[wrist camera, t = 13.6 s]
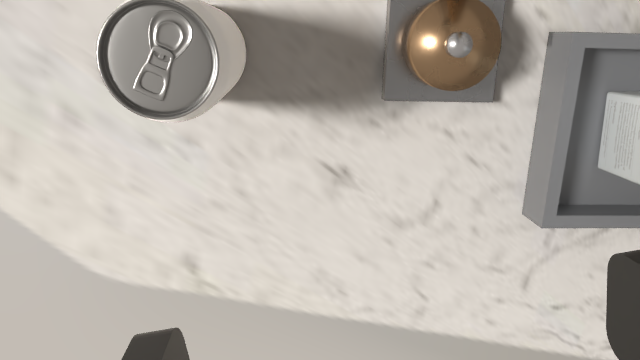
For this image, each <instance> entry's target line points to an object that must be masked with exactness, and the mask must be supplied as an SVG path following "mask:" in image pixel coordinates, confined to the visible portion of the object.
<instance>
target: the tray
mask: <svg viewBox="0 0 640 360" xmlns="http://www.w3.org/2000/svg"><path fill="white" fill-rule="evenodd" d="M625 91H640V34H627V33H592V32H549V37H548V44H547V50H546V57H545V64H544V70H543V77H542V84H541V91H540V97H539V104H538V111H537V117H536V124H535V131H534V137H533V144H532V151H531V157H530V164H529V171H528V178H527V184H526V191H525V198H524V204H523V211H522V214H523V215H524V216H526V217H527V218H528V219H530V220H531V221H532V222H534V223H535V224H536V225H538V226H539V227H540V228H640V185H639V184H637V183H634V182H632V181H629V180H627V179H624V178H622V177H620V176H617V175H615V174H612V173H610V172H607V171H605V170H602V169H599V168H598V160H599V152H600V145H601V137H602V130H603V122H604V115H605V107H606V99H607V93H608V92H625Z"/></svg>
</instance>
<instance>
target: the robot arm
mask: <svg viewBox="0 0 640 360" xmlns="http://www.w3.org/2000/svg"><path fill="white" fill-rule="evenodd" d="M606 330H607V336H608V339H609V342H610V345H611V347H612V349H613V351H614V353H615V355H616V356H617V358H618V359H619V360H640V250H636V251H630V252H624V253H618V254H614V255H613V256H612V257H611V258H610V260H609V263H608V272H607V315H606ZM122 360H190V359H189V355H188V352H187V348H186V344H185V340H184V337H183V335H182V332H181V331H180V329H179V328H171V329H165V330H159V331H154V332H148V333H142V334H137V335H135V336H134V337H133V338H132V340H131V342H130V344H129V346H128V348H127V350H126V352H125V354H124V356H123V358H122Z"/></svg>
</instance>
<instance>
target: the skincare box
mask: <svg viewBox="0 0 640 360" xmlns="http://www.w3.org/2000/svg"><path fill="white" fill-rule="evenodd" d="M598 168H599V169H602V170H605V171H607V172H610V173H612V174H615V175H617V176H620V177H622V178H624V179H627V180H629V181H632V182H634V183H637V184H639V185H640V91H625V92H608V93H607V99H606V107H605V115H604V122H603V130H602V137H601V145H600V152H599V160H598Z"/></svg>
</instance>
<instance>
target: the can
mask: <svg viewBox="0 0 640 360" xmlns="http://www.w3.org/2000/svg"><path fill="white" fill-rule="evenodd" d="M96 54H97V64H98V69H99V72H100V75H101V78H102V80H103V82H104V84H105V86H106V87H107V89H108V90H109V92H110V93H111V94H112V96H113V97H114V98H115V99H116V100H117V101H118V102H119V103H120V104H121V105H123V106H124V107H125V108H127V109H128V110H130V111H132V112H134V113H136V114H138V115H140V116H143V117H145V118H148V119H151V120H155V121H159V122H182V121H186V120H190V119H193V118H196V117H198V116H200V115H202V114H204V113H205V112H207V111H208V110H209V109H211V108H212V107H213V106H214V105H215V104H217V103H218V102H219V101H220V100H221V99H222V98H223V97H224V96H225V95H226V94H227V93H228V92H229V91H230V90H231V89H232V88H233V87H234V86H235V84H236V83H237V82H238V80H239V79H240V77H241V75H242V73H243V71H244V67H245V63H246V46H245V42H244V38H243V36H242V33H241V31H240V29H239V28H238V26H237V25H236V23H235V22H234V21H233V20H232V19H231V17H230V16H229V15H227V14H226V13H225V12H223V11H222V10H220V9H218V8H216V7H214V6H212V5H209V4H207V3H205V2H202V1H200V0H126V1H125V2H123V3H122V4H121V5H120V6H118V7H117V8H116V9H115V11H114V12H113V13H112V14H111V15H110V16H109V17H108V19H107V20H106V21H105V23H104V25H103V27H102V29H101V31H100V34H99V37H98V42H97V51H96Z"/></svg>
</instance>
